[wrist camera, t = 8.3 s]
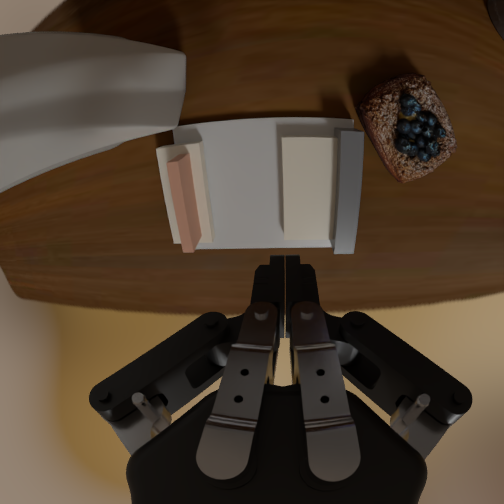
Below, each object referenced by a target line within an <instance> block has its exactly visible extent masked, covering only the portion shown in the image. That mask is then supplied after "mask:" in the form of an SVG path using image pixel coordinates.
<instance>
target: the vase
mask: <svg viewBox="0 0 504 504" xmlns="http://www.w3.org/2000/svg"><path fill="white" fill-rule="evenodd" d="M185 92H186V55H185V54H184V53H183V52H181V51H177V50H174V49H170V48H166V47H161V46H157V45H153V44H148V43H143V42H138V41H132V40H128V39H126V38H123V37H118V36H112V35H103V34H93V33H81V32H26V33H13V34H4V35H0V193H1V192H3V191H5V190H7V189H9V188H11V187H13V186H15V185H17V184H20V183H22V182H24V181H26V180H28V179H31V178H33V177H35V176H37V175H40V174H42V173H45V172H47V171H49V170H52V169H54V168H57V167H60V166H62V165H65V164H68V163H70V162H73V161H76V160H79V159H82V158H84V157H87V156H90V155H94V154H97V153H100V152H103V151H106V150H109V149H112V148H114V147H116V146H118V145H120V144H121V143H123V142H125V141H128V140H132V139H135V138H139V137H143V136H147V135H151V134H155V133H160V132H164V131H168V130H172V129H175V128H176V127H177V126H178V123H179V118H180V114H181V110H182V105H183V101H184V97H185Z"/></svg>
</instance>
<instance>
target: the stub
mask: <svg viewBox="0 0 504 504" xmlns="http://www.w3.org/2000/svg"><path fill="white" fill-rule="evenodd" d="M156 152H157V158H158V164H159V170H160V176H161V181H162V187H163V192H164V197H165V203H166V208H167V213H168V217H169V222H170V227H171V231H172V236H173V240H174V243H181V244H182V249H183V252H194V251H195V249H196V246H197V244H198V243H213V240H214V238H215V232H214V225H213V217H212V210H211V203H210V195H209V188H208V180H207V172H206V164H205V155H204V146H203V141H196V142H188V143H180V144H173V145H166V146H161V147H159V148H157V149H156Z"/></svg>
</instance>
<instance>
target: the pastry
mask: <svg viewBox="0 0 504 504" xmlns="http://www.w3.org/2000/svg"><path fill="white" fill-rule="evenodd" d="M355 109H356V110H357V113H358V116H359V118H360V120H361V123H362V125H363V127H364V129H365V132H366V133H367V135H368V137H369V138H370V140H371V142H372V144H373V145H374V147H375V149H376V151H377V153H378V155H379V157H380V159H381V160H382V162H383V164H384V166H385V167H386V169H387V170H388V171H389V173H390V174H392V175H393V176H394V177H395V178H396V180H397V181H398V182H401V183H406V182H408V181H413V180H416V179H418V178H420V177H423V176H424V175H426V174H428V173H430V172H433V170H434V169H435V168H436V167H438V166H439V165H441V164H442V163H443V162H444V161H445V160H446V159H447V158H448V157H449V156H451V153H452V152H453V153H455V151H456V148H457V144H456V139H455V136H454V132H453V128H452V125H451V122H450V119H449V117H448V114H447V112H446V110H445V108H444V106H443V104H442V102H441V101H440V99H439V97H438V96H437V94H436V92H435V91H434V89H433V88H432V87H431V82H430V81H427V80H426V78H425V76H423V75H417V74H416V73H410V74H403V75H398V76H395V77H392V78H390V79H388V80H386V81H384V82H382V83H380V84H379V85H377V86H375V87H374V88H372V89H371V90H370V91H369V92H368V93H367V94H366V95H365V96H364V98H363V100H362V101H360V103H359V104H358V105H357V106H356V107H355Z"/></svg>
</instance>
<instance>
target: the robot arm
mask: <svg viewBox="0 0 504 504" xmlns="http://www.w3.org/2000/svg"><path fill="white" fill-rule="evenodd" d="M487 6H488V11H489V15H490V17H491V20H492V22H493V24H494V26H495V28H496V29H497V31H498V33H499V34H500V36H501V37H502V38H503V39H504V0H488V4H487ZM284 312H285V268H284V255H270V265H260V266H259V267H258V268H257V269H256V271H255V276H254V284H253V290H252V297H251V304H250V306H248V307H247V309H246V311H245V313H244V314H242V315H240V316H237V317H233V318H228V319H227V318H226V316H225V315H223V314H222V313H219V312H208V313H205V314H203V315H201V316H200V317H198V318H197V319H195V320H194V321H192V322H191V323H190V324H188V325H187V326H185V327H184V328H182V329H181V330H179V331H178V332H176V333H175V334H173V335H172V336H170V337H169V338H167V339H166V340H165V341H163V342H161V343H160V344H158V345H157V346H155V347H154V348H153V349H151V350H149V351H148V352H146V353H145V354H143V355H142V356H140V357H139V358H137V359H136V360H134V361H133V362H131V363H129V364H128V365H126V366H125V367H124V368H122V369H120V370H119V371H117V372H116V373H114V374H112V375H111V376H109V377H108V378H106V379H105V380H103V381H102V382H100V383H98V384H97V385H95V386H94V387H93V389H92V390H91V392H90V395H89V402H90V404H91V406H92V407H93V408H94V409H95V410H96V411H97V412H98V413H99V414H100V415H101V417H102V418H103V419H104V420H106V421H107V422H108V423H109V424H110V425H111V426H112V428H113V429H114V431H115V432H116V434H117V436H118V437H119V438H120V440H121V442H122V443H123V444H124V446H125V447H126V449H127V450H128V452H129V453H130V454H131V457H130V459H129V461H128V464H127V469H126V477H127V482H128V485H129V488H130V493H131V500H132V504H418V501H419V498H420V496H421V493H422V491H423V489H424V486H425V483H426V480H427V466H426V463H425V458H426V457H427V456H428V455H429V454H430V452H431V451H432V450H433V448H434V447H435V446H436V444H437V443H438V442H439V440H440V439H441V438H442V436H443V435H444V434H445V432H446V431H447V429H448V428H449V427H450V426H452V424H454V423H455V422H456V421H457V420H458V419H459V418H461V417H462V416H463V415H464V414H465V413H466V412H467V411H468V410H469V409H470V407H471V405H472V394H471V392H470V390H469V389H468V388H467V387H466V386H465V385H463V384H462V383H461V382H459V381H458V380H457V379H455V378H454V377H453V376H451V375H450V374H449V373H447V372H445V371H444V370H443V369H442V368H440V367H439V366H438V365H436V364H435V363H433V362H432V361H431V360H429V359H428V358H427V357H425V356H424V355H423V354H421V353H420V352H418V351H417V350H416V349H414V348H413V347H411V346H410V345H409V344H407V343H406V342H405V341H403V340H402V339H400V338H399V337H397V336H396V335H395V334H393V333H392V332H391V331H389V330H388V329H386V328H385V327H383V326H382V325H381V324H379V323H378V322H376V321H375V320H374V319H372V318H371V317H369V316H368V315H367V314H365V313H362V312H358V311H353V312H349V313H347V314H345V315H344V316H343V317H342V318H341V317H336V316H332V315H329V314H328V313H326V312H325V311H323V309H322V308H321V306H320V302H319V295H318V288H317V281H316V275H315V270H314V269H313V267H312V266H311V265H310V264H300V255H286V338H290V362H291V373H292V385H289V386H283V387H281V386H277V385H274V378H275V371H276V364H277V356H278V348H279V345H280V338H284ZM342 375H343V376H344V377H345V378H347V379H348V380H349V381H350V382H351V383H352V384H353V385H355V386H356V387H357V388H358V389H359V390H360V391H362V392H363V393H364V394H365V395H366V396H367V397H369V398H370V399H371V400H372V401H373V402H374V403H376V404H377V405H378V406H379V407H380V408H382V409H383V410H384V411H385V412H386V413H387V414H389V415H390V416H391V418H390V426H391V427H390V426H389V425H388V424H387V423H386V422H385V421H384V420H382V419H381V418H380V417H379V416H378V415H377V414H376V413H375V412H374V411H373V410H372V409H371V408H370V407H368V406H367V405H366V404H365V403H364V402H363V401H362V400H361V399H360V398H359V397H357V396H356V395H355V394H353V393H351V392H350V391H347V390H345V385H344V380H343V376H342ZM220 377H222V380H221V383H220V386H219V389H218V390H216V391H214V392H212V393H210V394H209V395H207V396H205V397H204V398H203V399H202V400H201V401H199V402H198V403H197V404H196V405H194V406H193V407H192V408H191V409H190V410H188V411H187V412H186V413H185V414H183V415H182V416H181V417H180V418H178V419H177V420H176V421H174V422H173V423H172V424H171V420H172V418H171V415H172V414H173V413H175V412H176V411H177V410H179V409H180V408H181V407H183V406H184V405H186V404H187V403H188V402H190V401H191V400H192V399H193V398H195V397H196V396H197V395H199V394H200V393H201V392H203V391H204V390H205V389H206V388H208V387H209V386H210V385H212V384H213V383H214V382H215V381H217V380H218V379H219V378H220ZM170 424H171V425H170Z"/></svg>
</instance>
